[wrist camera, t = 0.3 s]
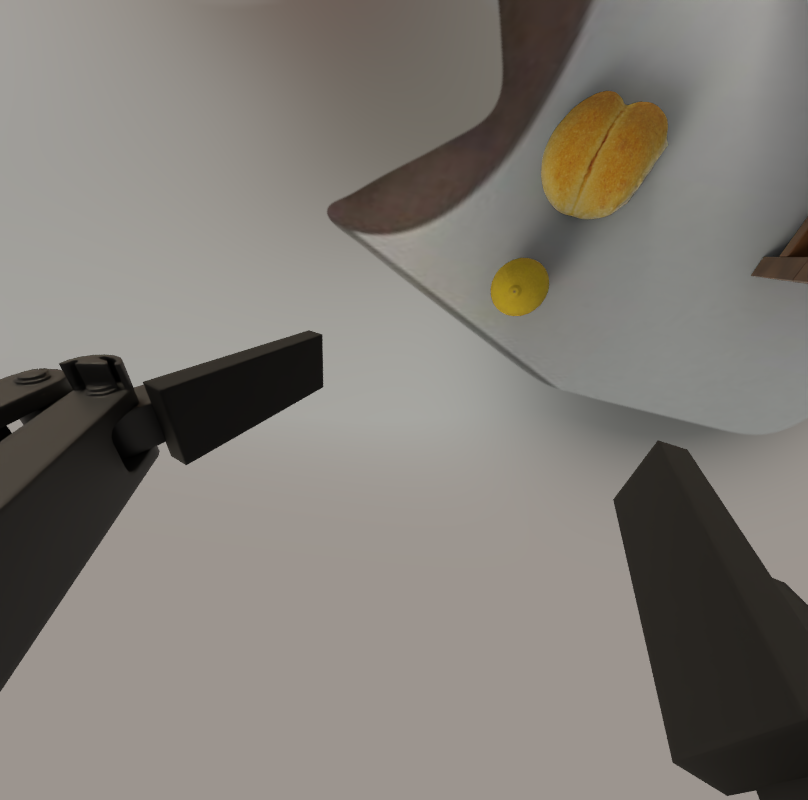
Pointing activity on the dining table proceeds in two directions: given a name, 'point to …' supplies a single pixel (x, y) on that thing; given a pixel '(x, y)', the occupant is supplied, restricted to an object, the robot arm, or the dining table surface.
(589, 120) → the bread roll
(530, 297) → the lemon
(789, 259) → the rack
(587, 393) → the dining table surface
